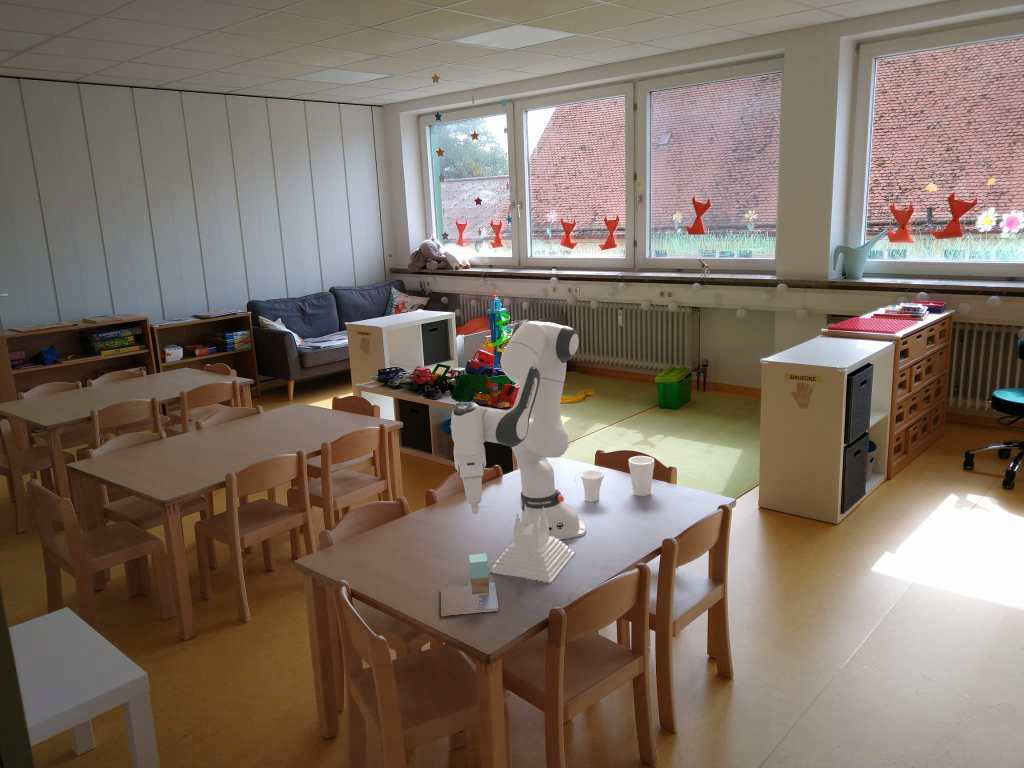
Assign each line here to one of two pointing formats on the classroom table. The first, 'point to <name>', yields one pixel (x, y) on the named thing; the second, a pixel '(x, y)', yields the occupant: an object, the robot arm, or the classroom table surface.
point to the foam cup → (641, 474)
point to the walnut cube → (480, 585)
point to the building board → (489, 599)
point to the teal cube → (478, 566)
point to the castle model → (534, 551)
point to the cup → (592, 484)
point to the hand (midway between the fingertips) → (474, 506)
